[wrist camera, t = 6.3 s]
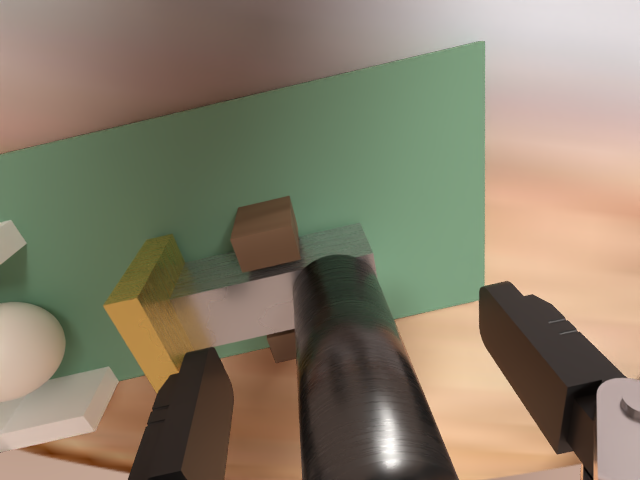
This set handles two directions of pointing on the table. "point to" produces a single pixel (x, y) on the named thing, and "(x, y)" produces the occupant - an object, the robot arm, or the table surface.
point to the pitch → (259, 192)
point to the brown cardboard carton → (268, 252)
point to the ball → (27, 348)
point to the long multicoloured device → (311, 346)
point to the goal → (52, 392)
